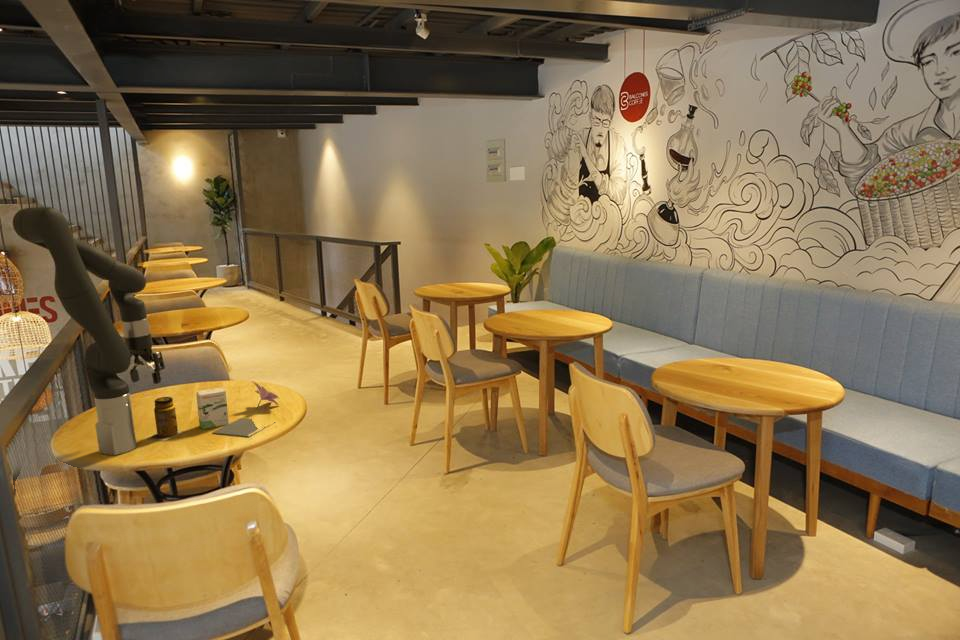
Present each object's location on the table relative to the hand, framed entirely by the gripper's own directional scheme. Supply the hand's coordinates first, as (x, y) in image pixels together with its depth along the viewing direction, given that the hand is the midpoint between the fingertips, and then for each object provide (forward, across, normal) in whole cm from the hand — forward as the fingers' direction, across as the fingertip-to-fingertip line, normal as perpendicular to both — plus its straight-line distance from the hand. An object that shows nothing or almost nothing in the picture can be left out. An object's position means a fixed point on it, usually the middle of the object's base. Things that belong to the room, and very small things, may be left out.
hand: (146, 382), depth 208 cm
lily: (+20, +20, +30) cm, 41 cm away
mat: (+18, +26, +10) cm, 33 cm away
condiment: (+17, +5, -2) cm, 18 cm away
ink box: (+18, +14, +10) cm, 25 cm away
